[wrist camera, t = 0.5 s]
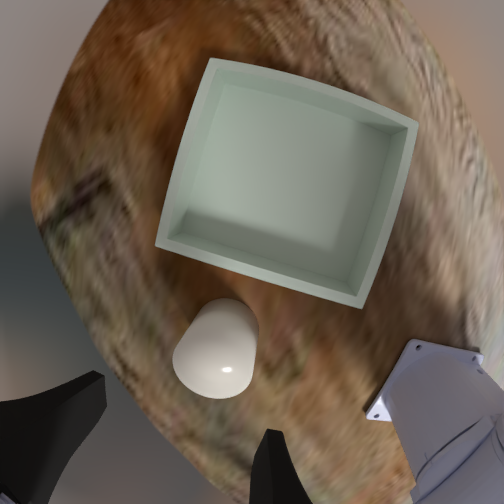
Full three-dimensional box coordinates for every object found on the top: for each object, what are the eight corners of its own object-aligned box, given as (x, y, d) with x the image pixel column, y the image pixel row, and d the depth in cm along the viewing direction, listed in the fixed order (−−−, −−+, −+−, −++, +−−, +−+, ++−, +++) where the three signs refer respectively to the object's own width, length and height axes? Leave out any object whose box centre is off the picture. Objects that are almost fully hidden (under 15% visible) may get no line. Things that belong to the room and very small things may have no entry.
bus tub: (399, 132, 15) (419, 122, 13) (350, 291, 18) (361, 309, 15) (220, 76, 16) (210, 57, 13) (173, 237, 18) (154, 246, 15)
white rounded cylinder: (267, 309, 19) (263, 348, 14) (248, 361, 20) (240, 406, 15) (203, 289, 19) (179, 321, 14) (190, 343, 20) (167, 383, 15)
